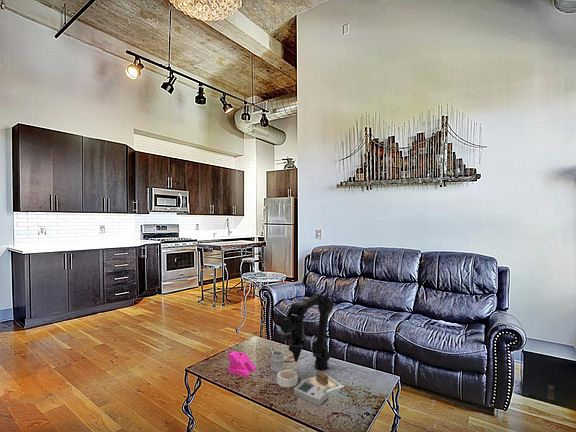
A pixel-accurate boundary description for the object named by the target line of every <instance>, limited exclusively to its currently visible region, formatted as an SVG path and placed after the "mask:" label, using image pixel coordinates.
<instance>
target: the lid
mask: <svg viewBox="0 0 576 432" xmlns="http://www.w3.org/2000/svg"><path fill="white" fill-rule="evenodd" d="M315 376H316V377H315ZM315 376H313V377H314V378H311V377H309V378H310V379H308V378H306V379H307V380H306V381H307V382H309V383H312V384H314V385H317V386H319V387H321V388H323V389H325V390H327V389H330V388H334V387H337V386H339V384H337V383H336V382H335V381H336V380H335V381H333V380H332V379H333V378H332V379H330V378H329V377H330V376H329V375H328V376H329V377H328V376H327V374H326V373H325V372H323V371H321V370H319V371H317V372H316V375H315Z"/></svg>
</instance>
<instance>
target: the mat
mask: <svg viewBox="0 0 576 432" xmlns="http://www.w3.org/2000/svg"><path fill="white" fill-rule="evenodd" d="M326 375H327V374H326ZM327 376H328V377H329V378H330V379H332V380H333V381H335V382H336V383H337V384H339V386H337V387H334V388H330V389H327V390H326V391H327V392H328V393H329V392H333V391H335V390H339V389H341V388H344V387H345V386H344V385H343V384H341V383H340V382H338V381H336V380H335V379H334V378H332V377H330V376H329V375H327ZM314 377H316V375H315V376H312V377H311V376H310V377H309V378H304V379H301V380H300V382H301V383H302V382H303V381H306V380H307V379H310V378H314Z"/></svg>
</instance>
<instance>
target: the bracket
mask: <svg viewBox="0 0 576 432" xmlns="http://www.w3.org/2000/svg"><path fill="white" fill-rule="evenodd" d="M227 357H228V359H227V361H229V367H228V368H227V373H228V372H229V373H228V374H231V373H233V374H232V375H235V374H237V375H236V376H240V375H241V376H240V377H245V378H248V377H249V376H250V375H251V372H255V371H256V370H257V367H256V366H255V364H254V363H253V362H252V360H251V359H250V357H249V355H247V353H245V352H239V351H236V350H233V351H231V352H230V353H228V355H227Z"/></svg>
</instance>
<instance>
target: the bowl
mask: <svg viewBox="0 0 576 432" xmlns="http://www.w3.org/2000/svg"><path fill="white" fill-rule="evenodd" d="M298 379H299V377H298V373H297V372H295V371H294V370H291V369H284V370H283V371H280V372H279V373H277V374H276V384H277V385H279V386H280V387H282V388H293V387H297V384H298V381H299V380H298Z"/></svg>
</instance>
